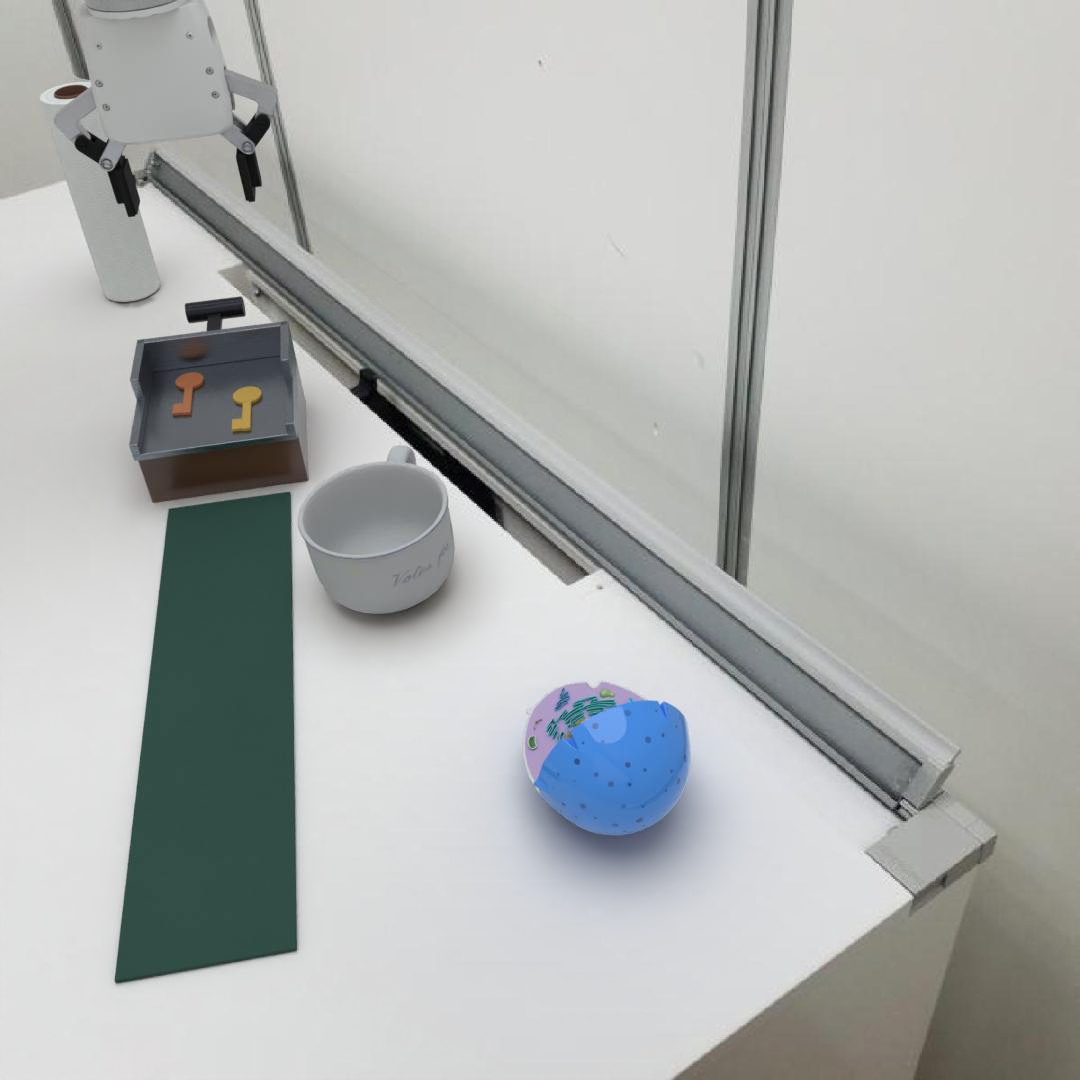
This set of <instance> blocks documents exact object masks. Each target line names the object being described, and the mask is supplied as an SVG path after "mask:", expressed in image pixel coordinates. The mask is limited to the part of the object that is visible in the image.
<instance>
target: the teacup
mask: <svg viewBox="0 0 1080 1080" xmlns="http://www.w3.org/2000/svg"><path fill="white" fill-rule="evenodd" d="M447 490H448V489H447V486H446V485H445V484H444V481H442V480H441V478H440V477H439V476H438V475H437V474H435V472H433V471H431V470H429V468H426V467H423V466H420V465H419V464H417V459H416V455H415V451H414V450H413V449H412V447H410V446H408V445H400V444H399V445H395V446H392V447H391V449H389V452H388V453H387V458H386V460H383V461H374V462H368V463H362V464H358V465H354V466H351V467H348V468H345V469H343V470H340V471H338V472H337V473H334V474H333V475H331V476H330V477H328V478H326V479H324V480H323V481H322V482H319V484H317V485H316V486H315V487H314V488H313V489H312V490H311V491H310V493H308V494H307V495H306V497H305V498H304V500H303V502H302V503H301V505H300V507H299V510H298V514H297V527H298V531H299V533H300V537H302V539H303V541H304V543H305V546H306V549H307V552H308V555H309V558H310V560H311V563H312V566H313V569H314V571H315V573H316V576H317V578H318V580H319V582H320V585H321V586H322V588H323V589H324V590H325V592H326V593H327V594H328V595H329V596H330V597H331V598H332V599H333V600H334V601H335V602H337V604H340V605H342V606H343V607H345V608H346V609H347V608H348V609H350V610H353V611H356V612H359V613H365V614H372V615H373V614H374V615H375V614H377V615H379V614H384V615H385V614H393V613H398V612H403V611H405V610H408V609H410V608H413V607H414V606H416V605H418V604H420V603H423V602H424V601H426V600H427V599H428V598H429V597H431V596H432V595H433V594H435V593H436V592H437V591H438V590H439V589H440V588H441V587H442V585H443V584H444V583H445V581H446V580H447V578H448V576H449V574H450V572H451V570H452V567H453V564H454V558H455V538H454V537H455V536H454V531H453V524H452V519H451V513H450V507H449V494H448V491H447Z"/></svg>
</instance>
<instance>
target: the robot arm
mask: <svg viewBox="0 0 1080 1080" xmlns="http://www.w3.org/2000/svg"><path fill="white" fill-rule="evenodd" d="M78 13H79V25H80V34H81V41H82V47H83V52H84V58H85V63H86V67H87V68H86V69H87V72H88V78H89V80H90V82H91V87H90V88H88V89H87V90H86V91H84V92H83V93H81V94H80V95H79V96H77V97H76V98H75V99H73V100H72V101H71V102H69V103H68V104H67V105H65V106H64V107H63V108H61V109H60V110H59V111H58V112H57V113H56V115H55V118H54V123H55V125H56V126H57V127H58V128H59V129H60V130H61V132H62V133H63V134H64V135H65V136H66V137H67V138H68V139H69V140H71V141H72V142H73V144H74V145H75V148H76V149H77V150H78V151H79V152H81V153H83V154H84V155H86V156H87V157H89V158H90V159H92V160H94V161H95V162H97V163H98V164H99V165H100V167H101V169H103V170H104V171H107V173H108V176H109V179H110V182H111V186H112V189H113V192H114V195H115V198H116V201H117V203H118V204H123V203H124V206H125V209H126V212H127V215H128V217H135V215H137V214H138V209H140V204H141V197H140V195H139V191H138V188H137V185H136V181H135V178H134V175H133V171H132V168H131V165H130V161H129V158H128V157H127V158H126V155H125V154H123V155H124V156H122V152H123V153H124V150H125V149H126V147H127V146H136V145H145V144H146V145H147V144H155V143H164V142H172V141H180V140H189V139H190V140H191V139H198V138H205V137H212V136H217V135H220V136H221V137H223V138H224V139H225V140H227V141H228V142H229V143H231V145H233V146H234V147H235V148H236V152H235V161H236V165H237V169H238V174H239V178H240V183H241V185H242V186H241V187H242V190H243V191H242V192H243V194H244V198H245V201H246V202H248V203H255V202H256V195H257V194H256V193H257V192H256V190H257V188H261V187H262V186H263V181H262V175H261V171H260V166H259V162H258V157H257V153H256V148H257V146H258V144H259V143H260V142H261V141H262V140H263V138H264V136H265V135H266V134H267V132H268V131H269V129H270V128H271V123H272V120H273V117H274V114H275V110H276V107H277V104H278V99H279V91H278V88H276V87H275V86H274V85H271V84H269V83H266V82H263V81H259V80H257V79H255V78H252V77H250V76H247V75H245V74H241V73H238V72H236V71H233V70H230V69H228V67H227V64H226V59H225V56H224V52H223V50H222V47H221V43H220V39H219V37H218V33H217V31H216V28H215V24H214V22H213V19H212V16H211V14H210V11H209V9H208V7H207V4H206V2H205V0H84V2H83V3H82V4H81V5H80V6H79V11H78ZM235 95H238V96H240V97H244V98H246V99H248V100H252V101H254V102H255V103H257V108H256V111H255V112H254V114H253V116H252V117H251V119H250V120H249V121H248V123H247V122H245V121H244V120H243V119H241V118H240V117H239V116H238V115H237V114H235V113H234V112H233V111H235V110H236V99H235ZM96 108H97V111H98V115H99V118H100V121H101V125H102V127H103V130H104V132H105V134H106V136H107V138H108V139H107V141H106V142H104V141H103V140H101V139H100V138H98V137H97V136H95V135H93V134H92V133H90V132H89V131H87V130H85V128H84V126H83V125H82V124H81V123H80V121H79V120H81V119H82V118H83V117H85V116H86V115H88V114H89V113H90V112H92V111H93V110H94V109H96Z"/></svg>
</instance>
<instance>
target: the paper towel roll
mask: <svg viewBox="0 0 1080 1080" xmlns="http://www.w3.org/2000/svg"><path fill="white" fill-rule="evenodd" d="M73 79H74V82H67V83H63V84H60V85H55V86H53V87H51V88H48V89H45V91H43V92H42V93H40V95H39V98H38V100H39V103H40V105H41V106H40V107H41V109H42V112H43V115H44V118H45V121H46V124H47V127H48V130H49V133H50V137H51V139H52V142H53V145H54V149H55V152H56V155H57V157H58V161H59V164H60V167H61V169H62V173H63V176H64V179H65V182H66V184H67V187H68V191H69V193H70V196H71V201H72V203H73V206H74V210H75V212H76V215H77V219H78V221H79V224H80V228H81V230H82V233H83V236H84V239H85V243H86V244H87V248H88V252H89V254H90V257H91V261H92V263H93V267H94V270H95V272H96V275H97V278H98V281H99V285H100V287H101V291H102V293H103V294H104V296H105V297H106V298H107V299H108V300H111V301H113V302H119V303H121V302H123V303H127V302H135V301H140V300H142V299H145V298H147V297H149V296H151V295H153V294H154V293H156V292H157V290H158V289H159V288H160V286H161V278H160V275H159V271H158V268H157V264H156V261H155V257H154V254H153V250H152V247H151V244H150V241H149V238H148V232H147V230H146V227H145V223H144V220H143V217H142V213H141V210H140V208H139V209H138V214H137V215H135V217H128V215H127V212H126V209H125V206H124V203H123V204H118V203H117V201H116V198H115V195H114V192H113V189H112V186H111V182H110V179H109V176H108V173H107V171H104V170H103V169H101V167H100V165H99V164H98V163H97V162H95V161H94V160H92V159H90V158H89V157H87V156H86V155H84V154H83V153H81V152H79V151H78V150H77V149H76V148H75V145H74V144H73V142H72V141H71V140H69V139H68V138H67V137H66V136H65V135H64V134H63V133H62V132H61V130H60V129H59V128H58V127H57V126H56V125H55V123H54V118H55V115H56V113H57V112H58V111H59V110H60V109H61V108H63V107H64V106H65V105H67V104H68V103H69V102H71V101H72V100H73V99H75V98H76V97H77V96H79V95H80V94H81V93H83V92H84V91H86V90H87V89H88V88H90V87H91V82H90V79H85V78H80V77H77V76H76V75H74V74H73ZM79 121H80V123H81V124H82V125H83V126H84V128H85V130H87V131H89V132H90V133H92V134H93V135H95V136H97V137H98V138H100V139H101V140H103V141H104V142H106V141H107V139H108V138H107V136H106V134H105V132H104V130H103V127H102V125H101V121H100V118H99V115H98V111H97V108H96V109H94V110H93V111H92V112H90V113H89V114H88V115H86V116H85V117H83V118H82V119H81V120H79ZM124 155H125V154H124V151H123V152H122V156H124Z"/></svg>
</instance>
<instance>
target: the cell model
mask: <svg viewBox="0 0 1080 1080" xmlns="http://www.w3.org/2000/svg"><path fill="white" fill-rule="evenodd" d="M525 713H526V714H527V719H526V723H525V726H524V730H523V734H522V746H521V747H522V757H523V762H524V767H525V771H526V773H527V775H528V779H530V781H531V783H532V785H533V786H534V788H535V790H536V791H537V793H538V794H539V796H540V797H541V799H543V801H545V802H546V803H547V804H548V806H549V807H551V808H552V810H554V811H555V812H556V813H558V814H559V815H560V816H562V817H563V818H564V819H566V820H567V821H569V822H570V823H571V824H573V825H575V826H576V827H579V828H580V829H583V830H585V831H587V832H590V833H593V834H597V835H602V836H614V837H615V836H617V837H618V836H626V835H627V836H628V835H632V834H635V833H639V832H642V831H644V830H647V829H648V828H650V827H653V826H654V825H655V824H656V823H658V822H659V821H661V820H662V819H664V818H665V817H666V816H667V815H668V814H669V813H670V812H671V811H672V809H673V808H674V807H675V806H676V804H677V803H678V802H679V800H680V798H681V797H682V795H683V793H684V791H685V789H686V786H687V784H688V781H689V776H690V771H691V758H692V752H691V751H692V750H691V739H690V731H689V730H690V729H689V725H688V721H687V719H686V717H685V715H684V714H683V713H682V711H681V710H679V708H677V707H676V706H674V705H673V704H671V703H669V702H667V701H661V703H660V702H659V701H658V700H652V699H651V700H649V699H647V698H646V697H644V696H642V695H641V694H639V693H638V692H636V691H633V690H632V689H629V688H627V687H625V686H623V685H619V684H617V683H614V682H611V681H605V680H599V681H598V683H597V685H596V686H592V685H591V684H590V683H589V682H588V680H585V681H573V682H569V683H565V684H562V685H560V686H558V687H555V688H554V689H552V690H551V691H549V692H547V693H545V695H543V696H542V698H540V699H539V700H538V701H537V702H536V703H535V705H533V706H532V707H528V708H527V709H526V710H525Z"/></svg>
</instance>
